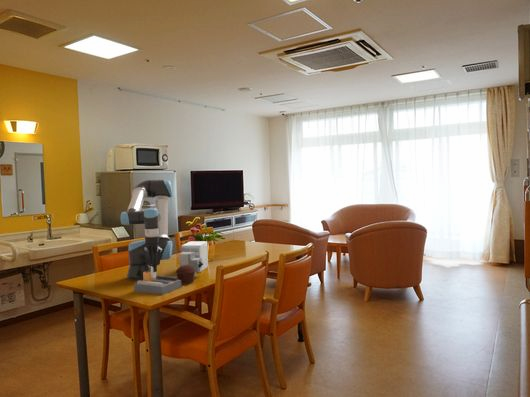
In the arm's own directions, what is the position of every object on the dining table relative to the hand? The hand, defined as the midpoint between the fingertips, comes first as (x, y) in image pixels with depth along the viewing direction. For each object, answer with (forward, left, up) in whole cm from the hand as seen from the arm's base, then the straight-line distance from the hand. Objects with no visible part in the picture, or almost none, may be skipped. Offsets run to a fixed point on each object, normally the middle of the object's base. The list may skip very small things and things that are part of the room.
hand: (153, 277), depth 227 cm
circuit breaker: (+4, +31, -7) cm, 32 cm away
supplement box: (-6, +49, -7) cm, 50 cm away
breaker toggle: (-3, 0, -2) cm, 3 cm away
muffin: (+9, +18, -7) cm, 21 cm away
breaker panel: (+3, 0, -6) cm, 7 cm away
